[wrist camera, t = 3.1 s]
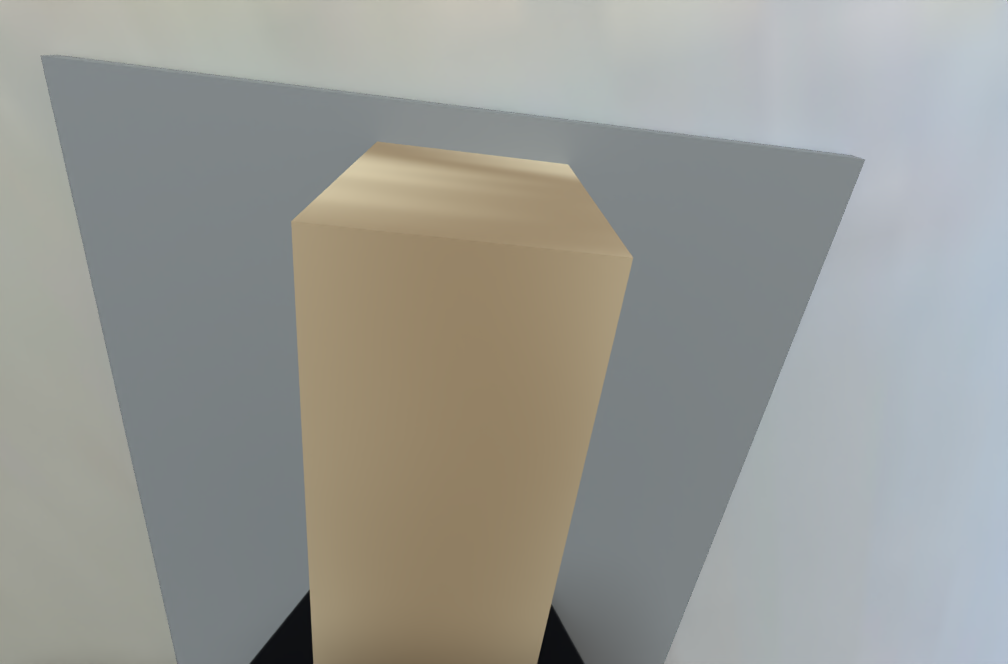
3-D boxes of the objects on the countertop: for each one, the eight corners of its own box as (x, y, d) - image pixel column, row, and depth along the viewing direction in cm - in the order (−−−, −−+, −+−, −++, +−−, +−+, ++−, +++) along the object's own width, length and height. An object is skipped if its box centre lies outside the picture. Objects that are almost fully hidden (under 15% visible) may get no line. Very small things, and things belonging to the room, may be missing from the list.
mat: (215, 794, 14) (209, 809, 14) (58, 54, 7) (41, 55, 6) (599, 804, 15) (602, 817, 15) (851, 155, 8) (864, 159, 7)
